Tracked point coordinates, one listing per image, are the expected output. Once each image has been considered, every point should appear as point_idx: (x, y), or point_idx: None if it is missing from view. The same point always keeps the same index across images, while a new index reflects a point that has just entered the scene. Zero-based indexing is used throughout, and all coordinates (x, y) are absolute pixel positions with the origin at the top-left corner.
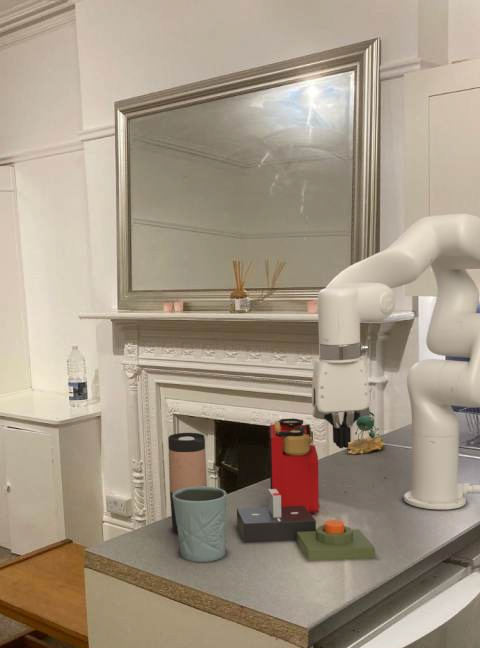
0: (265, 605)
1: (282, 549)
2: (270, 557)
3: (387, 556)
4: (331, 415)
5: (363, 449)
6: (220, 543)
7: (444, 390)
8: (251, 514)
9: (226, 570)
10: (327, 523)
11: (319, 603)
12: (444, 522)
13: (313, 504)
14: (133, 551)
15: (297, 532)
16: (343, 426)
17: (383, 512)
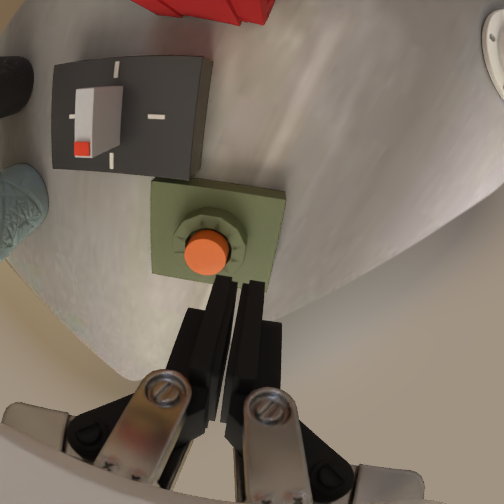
0: (98, 347)
1: (127, 201)
2: (105, 231)
3: (292, 276)
4: (131, 447)
5: None
6: (31, 230)
7: None
8: (69, 111)
9: (54, 259)
10: (189, 256)
11: (149, 361)
12: (479, 161)
13: (249, 19)
14: None
15: (151, 184)
16: (227, 414)
17: (421, 53)
